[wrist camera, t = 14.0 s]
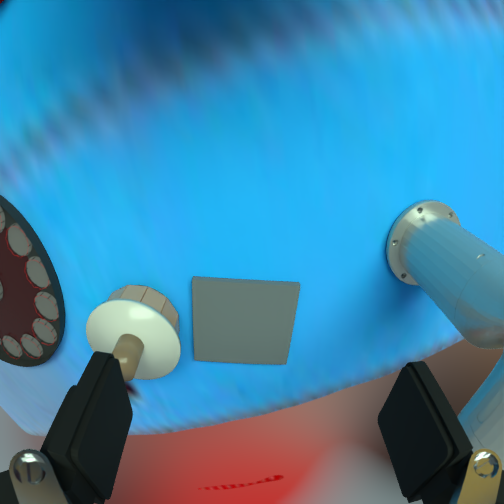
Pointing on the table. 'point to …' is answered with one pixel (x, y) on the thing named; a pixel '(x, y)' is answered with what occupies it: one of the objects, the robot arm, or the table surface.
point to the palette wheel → (27, 294)
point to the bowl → (149, 301)
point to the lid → (134, 338)
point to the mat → (243, 319)
